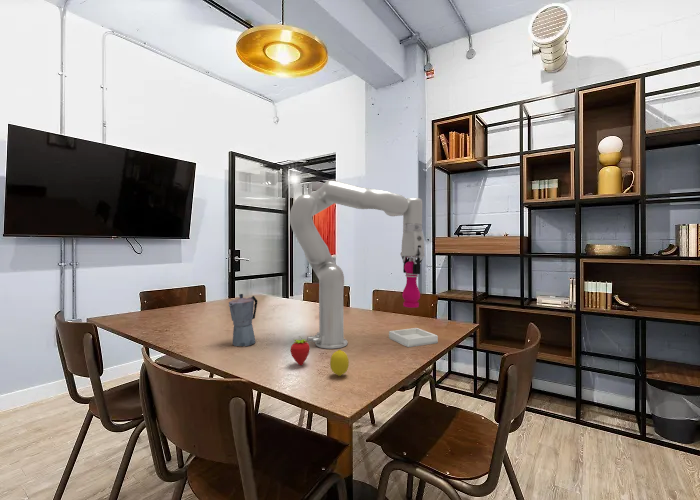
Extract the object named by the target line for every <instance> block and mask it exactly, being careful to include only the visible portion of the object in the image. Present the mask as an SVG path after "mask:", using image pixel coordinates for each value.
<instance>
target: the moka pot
mask: <svg viewBox="0 0 700 500" xmlns="http://www.w3.org/2000/svg"><path fill="white" fill-rule="evenodd" d="M238 296H239V298H235V299H232V300H231V301H229V302H228V307H229V312H230V317H231V321H232V325H233V332H232V346H233V345H234V346H233V347H236V346H242V347H241V348H243V346H245V347H249V346H252V345H255V343H256V337H255V332H254V331H255V330H254V326H253V320H255V319H256V313H257V307H258V299H257V298H256V297H255V295H252V296H251V297H247V298H246V297H244V294H243V293H239V294H238Z"/></svg>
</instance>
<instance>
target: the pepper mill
mask: <svg viewBox="0 0 700 500" xmlns="http://www.w3.org/2000/svg"><path fill="white" fill-rule="evenodd" d="M413 264H414V261H413V257H411V258H410V261H408V262H407V263H406V264H405V266H404V269H405V271H406V273H404V274H405V277H406V283H405V285H404V288H403V291H402V296H401V297H402V298H403V300H404V301H403V303H402V304H403V305H402V306H403V307H404V308H409V309H410V308H411V309H412V308H419V307H420V306H419V305H420V302H419V300H420V299H421V292H420V289H419V286H418V284H417V282H418V281H417V280H418V278H417V277H419V274H413Z"/></svg>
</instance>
